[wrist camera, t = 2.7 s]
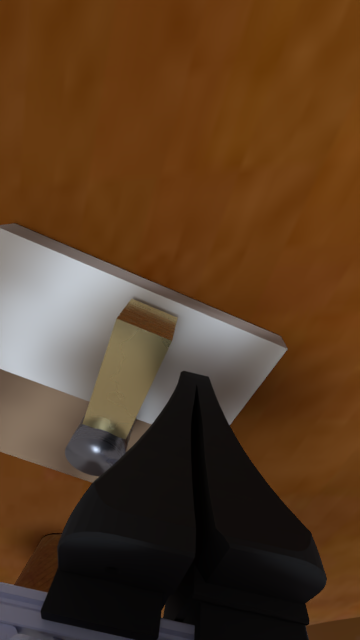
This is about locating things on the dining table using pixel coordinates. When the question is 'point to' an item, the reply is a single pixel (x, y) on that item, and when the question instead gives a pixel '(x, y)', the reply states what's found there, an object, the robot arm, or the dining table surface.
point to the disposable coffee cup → (41, 565)
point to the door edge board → (101, 345)
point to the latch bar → (121, 387)
